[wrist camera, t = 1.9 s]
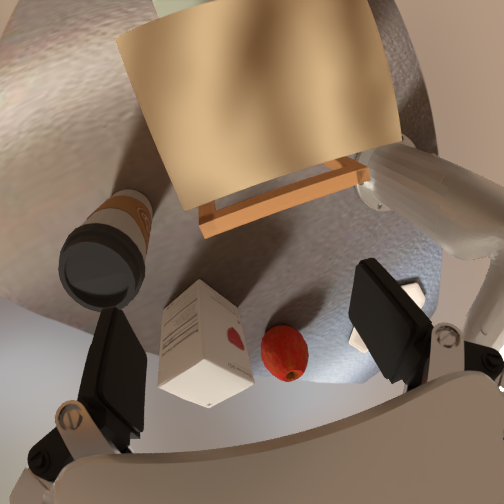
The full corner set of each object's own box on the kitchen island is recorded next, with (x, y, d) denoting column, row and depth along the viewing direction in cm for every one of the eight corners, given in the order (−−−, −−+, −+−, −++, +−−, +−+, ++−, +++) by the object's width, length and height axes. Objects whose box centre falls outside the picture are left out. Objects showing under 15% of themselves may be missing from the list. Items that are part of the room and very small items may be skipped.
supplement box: (239, 307, 44) (258, 384, 31) (201, 335, 46) (208, 410, 33) (199, 276, 40) (204, 358, 27) (161, 309, 41) (155, 388, 29)
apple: (279, 351, 52) (293, 395, 43) (246, 340, 49) (258, 388, 39) (307, 326, 50) (327, 370, 41) (275, 311, 46) (293, 360, 37)
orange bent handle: (326, 148, 33) (368, 166, 25) (329, 158, 34) (370, 180, 25) (198, 191, 33) (198, 225, 25) (202, 202, 34) (205, 238, 25)
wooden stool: (287, 32, 24) (362, -12, 10) (314, 119, 31) (402, 140, 16) (157, 70, 24) (115, 38, 10) (191, 159, 31) (184, 211, 16)
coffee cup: (167, 232, 35) (155, 309, 22) (112, 245, 34) (79, 321, 22) (151, 173, 31) (120, 224, 18) (93, 190, 30) (38, 247, 17)
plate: (369, 355, 62) (372, 359, 60) (333, 329, 52) (335, 334, 51) (427, 304, 57) (431, 308, 56) (405, 264, 47) (410, 268, 46)
